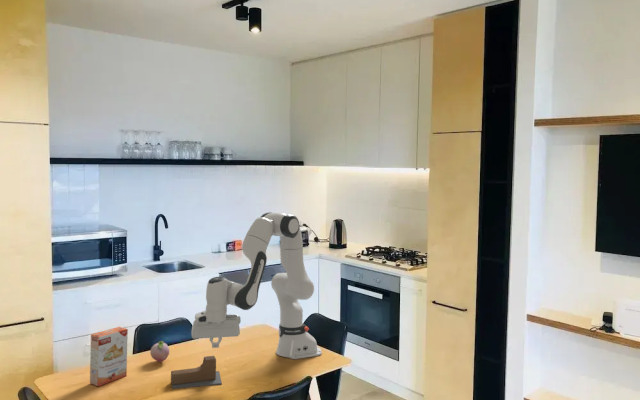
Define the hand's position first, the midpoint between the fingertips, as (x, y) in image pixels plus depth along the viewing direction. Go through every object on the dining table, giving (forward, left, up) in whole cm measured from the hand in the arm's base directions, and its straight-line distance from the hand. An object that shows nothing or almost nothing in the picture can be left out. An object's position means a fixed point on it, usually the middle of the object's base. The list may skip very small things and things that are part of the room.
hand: (215, 347), depth 216 cm
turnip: (+23, -24, -14) cm, 36 cm away
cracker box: (+43, -8, -14) cm, 46 cm away
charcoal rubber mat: (+8, 0, -14) cm, 16 cm away
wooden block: (0, 0, -9) cm, 9 cm away
